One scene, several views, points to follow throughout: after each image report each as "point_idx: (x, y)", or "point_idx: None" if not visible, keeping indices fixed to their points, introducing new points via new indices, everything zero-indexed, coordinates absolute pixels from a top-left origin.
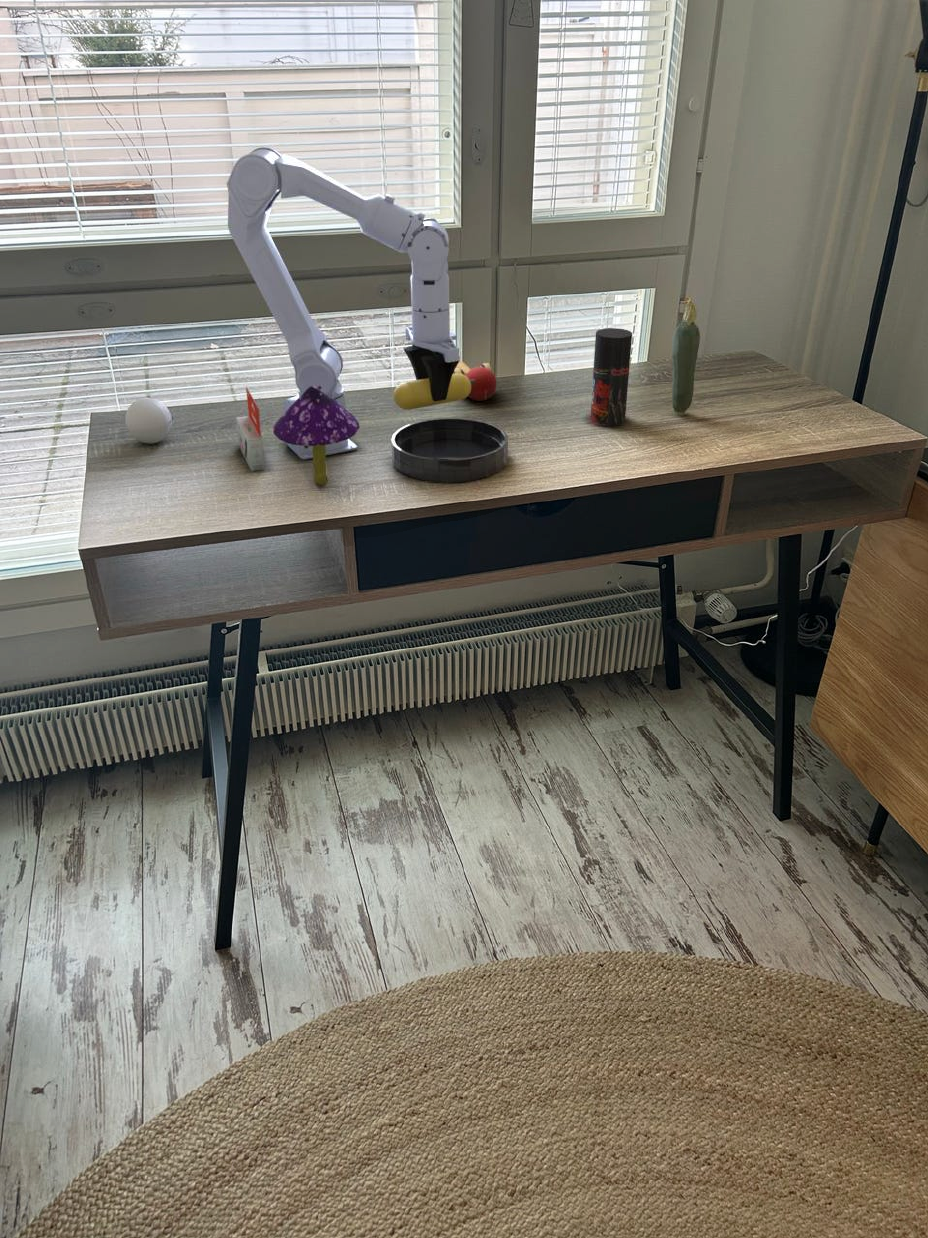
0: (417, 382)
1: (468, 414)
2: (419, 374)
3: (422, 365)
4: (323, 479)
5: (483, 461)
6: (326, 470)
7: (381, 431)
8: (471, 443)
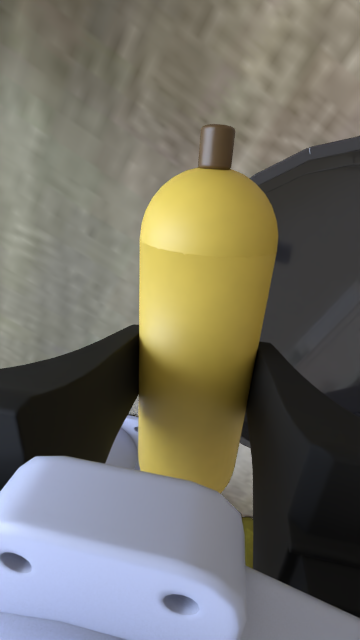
0: (196, 466)
1: (40, 51)
2: (118, 421)
3: (101, 439)
4: None
5: None
6: (251, 537)
7: (70, 333)
8: (274, 205)
